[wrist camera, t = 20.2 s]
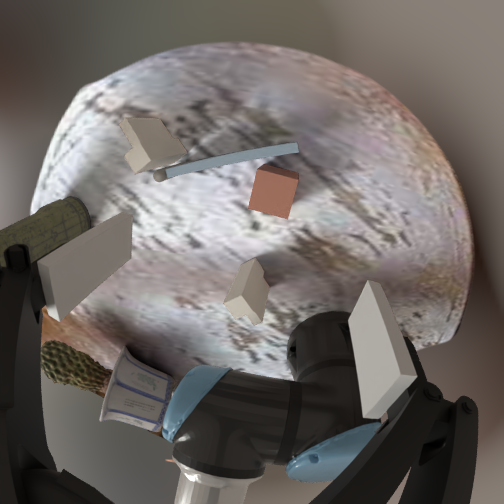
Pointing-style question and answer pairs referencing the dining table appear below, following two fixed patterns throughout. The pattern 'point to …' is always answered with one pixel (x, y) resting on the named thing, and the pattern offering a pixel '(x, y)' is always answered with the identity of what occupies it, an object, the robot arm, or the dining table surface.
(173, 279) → the dining table surface
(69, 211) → the thermos
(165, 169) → the door
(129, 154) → the doorframe
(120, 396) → the potted plant
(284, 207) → the reddish brown block
